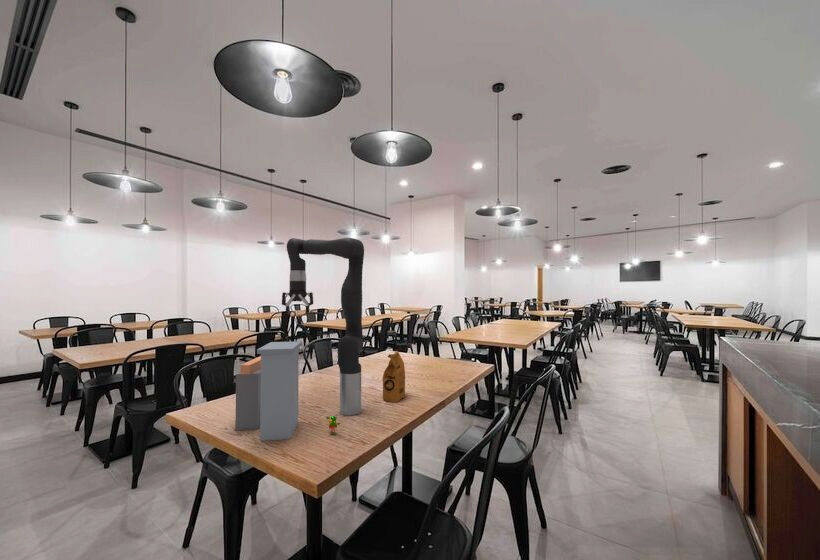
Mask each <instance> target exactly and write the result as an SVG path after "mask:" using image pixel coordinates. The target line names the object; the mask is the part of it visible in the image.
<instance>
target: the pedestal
mask: <svg viewBox="0 0 820 560" xmlns="http://www.w3.org/2000/svg"><path fill="white" fill-rule="evenodd" d="M302 346H303V342H302V341H271V342H269V343H267V344H265V345H263V346H261V347H259V348H258V349H256V354H257V355H260V356H261V407H260V427H259V429H260V431H259V432H260V433H259V434H260V435H259V439H260V440H259V441H260V442H261V441H263V442H264V441H277V440H281V441H282V440H290V439H291V438H292V437H293V436H292V435H293V434H294V432H295V430H296V429H297V426H298V424H299V374H300V373H299V368H300V367H299V363H300V362H299V360H300V358H299V357H300V356H299V354H300V352H299V350H300V349H299V348H300V347H302Z"/></svg>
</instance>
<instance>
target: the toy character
mask: <svg viewBox="0 0 820 560" xmlns="http://www.w3.org/2000/svg"><path fill="white" fill-rule="evenodd" d="M325 418H326V420H328V423H329V424H328V425H329V426H328V428H329V429H331V431H330V434H332V435H333V436H336V435H337V433H336V431H335V430H336V429H337V428H338V426H339V427H340V426H341V425H342V423H341V422H337V416H336V415H331V416H325Z"/></svg>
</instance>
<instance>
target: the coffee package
mask: <svg viewBox="0 0 820 560" xmlns="http://www.w3.org/2000/svg"><path fill="white" fill-rule="evenodd" d="M387 358H390V360H389V361H388V364H387V366H386V368H385V369H384V371H383V375H382V400H383V401H385V402H389V401H391V403H399V402H400V400H403V399H404V398H405V396H406V371H405V370H406V369H405V363H404V361H403V358H402V356H401V354H400V352H399V351H398V350H395V351H394V353H391V354H388V355H387ZM402 398H403V399H402Z"/></svg>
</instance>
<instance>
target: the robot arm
mask: <svg viewBox="0 0 820 560" xmlns="http://www.w3.org/2000/svg"><path fill="white" fill-rule="evenodd" d="M286 252H287V255H288V259H289V263H290V264H289V266H290V267H289V268H290V270H289V292H282V295H281V305H282V306H285V313H286V315H290V314H291V313H290V312H291V311H290V310H291V309H290V307H291V306H290V305H291V304H292V303H293V302H302V303H303V304H304V305H305V315H308V314H309V313H310V307H311V306H312V305H314V293H313V292H312V291H311V292H307V272H306V267H307V265H306V264H307V263H306V260H305V259H304V258H302V257H301V256H300V255H315V256H316V255H317V256H318V255H319V256H321V255H323V256H324V255H333V256H337V257H340V258H343V259H346V260H347V259H348V270H347V273H346V277H345V279H344V280H343V283H342V285H341V287H340V288H341V289H340V290H341V291H340V304H341V310H342V313H343V316H344V319H345V335H344V336H342V337H341V338H340V339H339V340H338V342H337V365H338V367H339V414H340V415H342V416H356V415H359V414H360V415H361V414H362V364H361V363H360V359H359V353H360V352H362V351H363V348H364V335H363V333H364V332H363V326H362V325H363V323H362V319H363V268H364V267H363V266H364V258H365V246H364V243H363V242H362V241H361V240H360V239H357V238H352V237H342V238H337V239H330V240H329V239H312V238H311V239H300V238H294V237H293V238H292V237H291V238H289V239H288V241H287V243H286ZM307 296H308V298H309V301H308V300H307ZM287 297H289V300H287ZM286 300H287V301H286Z"/></svg>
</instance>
